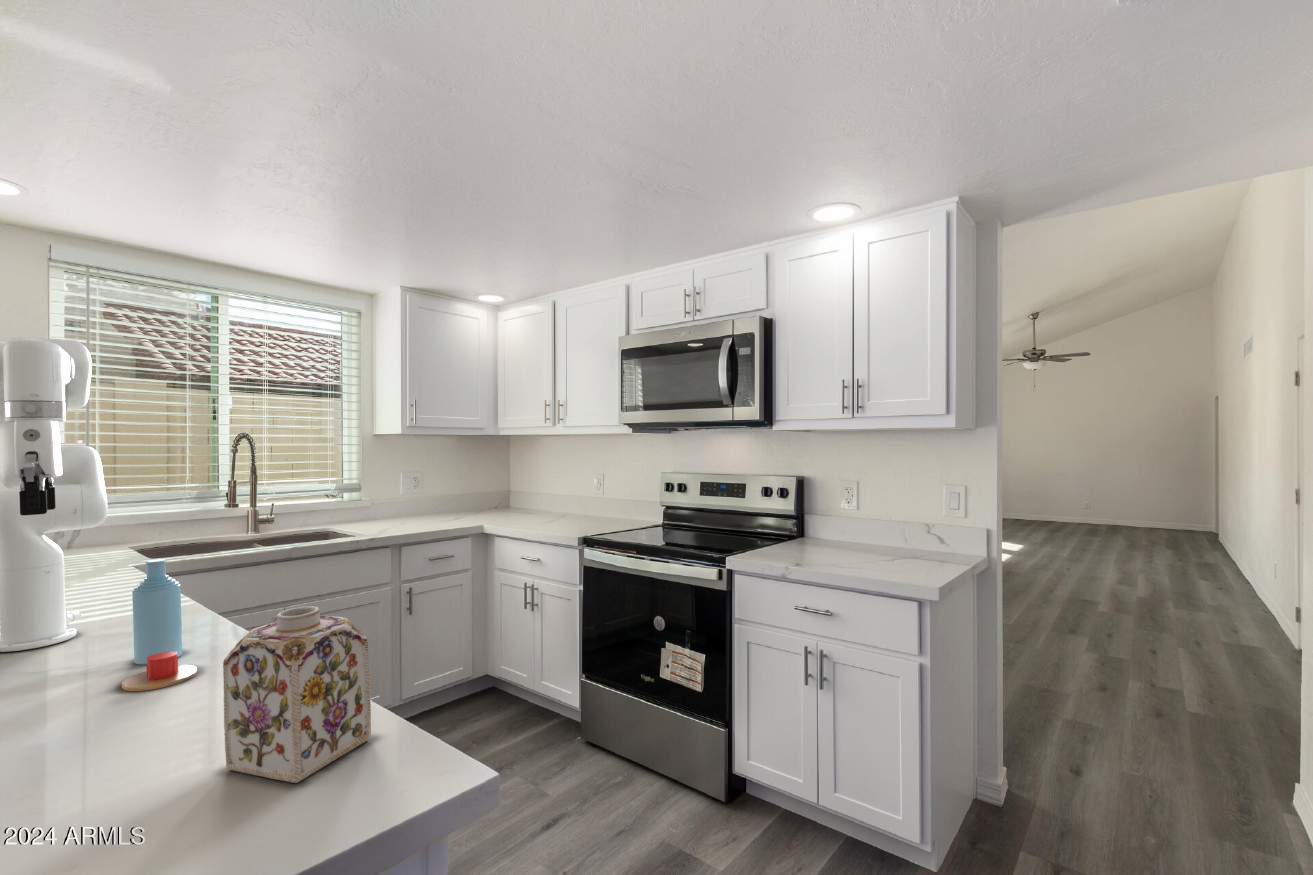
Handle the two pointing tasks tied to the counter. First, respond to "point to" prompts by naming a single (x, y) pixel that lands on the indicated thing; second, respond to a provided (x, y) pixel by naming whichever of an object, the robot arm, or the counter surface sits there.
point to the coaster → (143, 684)
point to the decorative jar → (296, 695)
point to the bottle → (156, 613)
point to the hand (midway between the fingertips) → (38, 512)
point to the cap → (162, 665)
